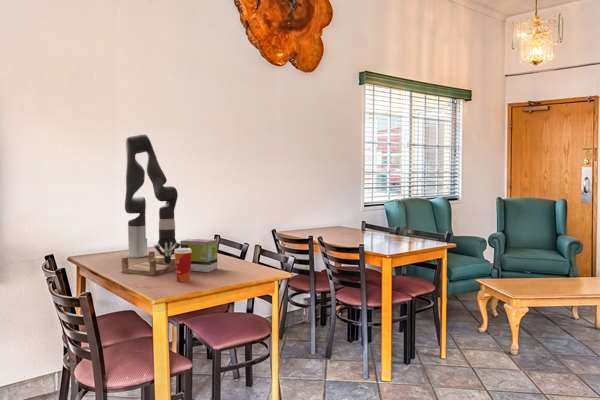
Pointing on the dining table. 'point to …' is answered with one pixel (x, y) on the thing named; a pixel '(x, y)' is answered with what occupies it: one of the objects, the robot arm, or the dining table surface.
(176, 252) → the paper cup
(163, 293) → the dining table surface
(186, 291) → the dining table surface
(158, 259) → the tan curved wooden piece
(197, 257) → the tea box
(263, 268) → the dining table surface
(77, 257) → the dining table surface
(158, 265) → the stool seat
